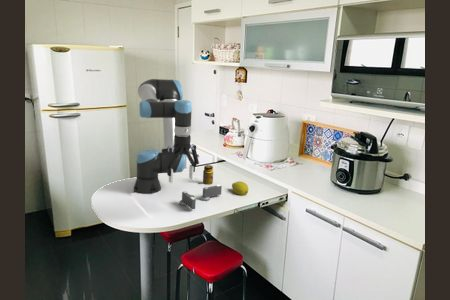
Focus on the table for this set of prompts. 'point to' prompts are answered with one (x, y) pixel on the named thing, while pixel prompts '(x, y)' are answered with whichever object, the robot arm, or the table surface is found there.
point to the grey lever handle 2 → (211, 192)
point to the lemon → (240, 188)
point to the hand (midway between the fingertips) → (181, 180)
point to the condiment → (207, 175)
